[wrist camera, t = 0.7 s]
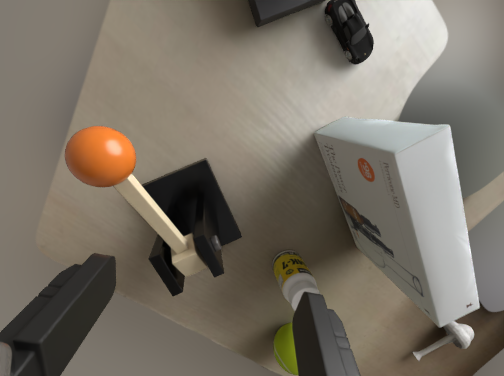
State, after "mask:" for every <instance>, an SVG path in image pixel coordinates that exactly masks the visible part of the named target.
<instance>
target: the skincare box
mask: <svg viewBox="0 0 504 376" xmlns="http://www.w3.org/2000/svg"><path fill="white" fill-rule="evenodd" d="M314 135H315V138H316V140H317V143H318V146H319V148H320V151H321V154H322V156H323V159H324V162H325V164H326V167H327V170H328V172H329V175H330V178H331V180H332V183H333V185H334V188H335V191H336V193H337V196H338V199H339V201H340V204H341V207H342V209H343V212H344V215H345V217H346V220H347V222H348V225H349V228H350V230H351V233H352V236H353V238H354V241H355V244H356V246H357V248H358V249H359V250H360V251H361V252H362V253H363V254H364V255H366V256H367V257H368V258H369V259H370V260H371V261H372V262H373V263H374V264H375V265H376V266H377V267H378V268H379V269H380V270H381V271H382V272H383V273H384V274H385V275H386V276H387V277H388V278H389V279H390V280H391V281H392V282H393V283H394V284H395V285H396V286H397V287H398V288H399V289H400V290H401V291H402V292H403V293H405V294H406V295H407V296H408V297H409V298H410V299H411V300H412V301H413V302H414V303H415V304H416V305H417V306H418V307H419V308H420V309H421V310H422V311H423V312H424V313H425V314H426V315H427V316H428V317H429V318H430V319H431V320H432V321H433V322H434V323H435V324H436V325H437V326H438V327H439V328H440V327H443V326H445V325H447V324H449V323H450V322H452V321H454V320H457V319H459V318H460V317H462V316H464V315H466V314H468V313H470V312H472V311H474V310H476V309H478V308H479V300H478V294H477V287H476V281H475V275H474V269H473V263H472V257H471V250H470V244H469V239H468V232H467V226H466V220H465V214H464V208H463V201H462V195H461V189H460V183H459V177H458V171H457V166H456V160H455V153H454V147H453V140H452V134H451V128H450V125H428V124H417V123H406V122H396V121H390V120H380V119H361V118H350V117H342V118H340V119H338V120H336V121H334V122H332V123H330V124H328V125H326V126H324V127H323V128H321V129H319V130H317V131H316V132H314Z"/></svg>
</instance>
